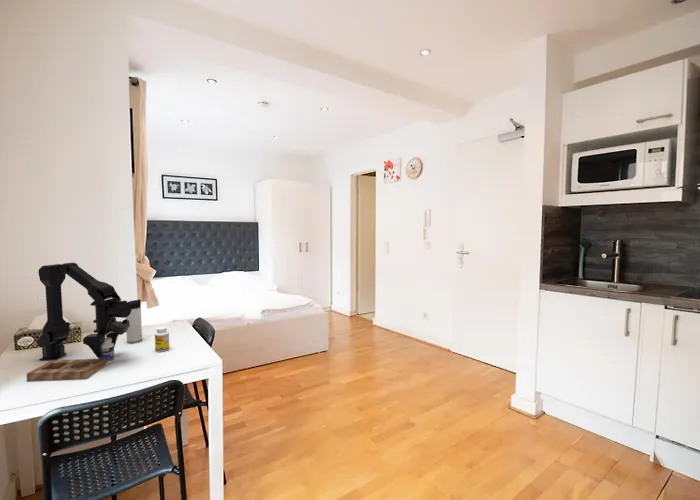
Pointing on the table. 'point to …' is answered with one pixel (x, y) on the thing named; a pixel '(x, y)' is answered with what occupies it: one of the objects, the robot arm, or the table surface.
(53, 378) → the socket block
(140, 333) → the travel mug
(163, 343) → the supplement bottle
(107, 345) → the pill bottle
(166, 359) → the table surface
